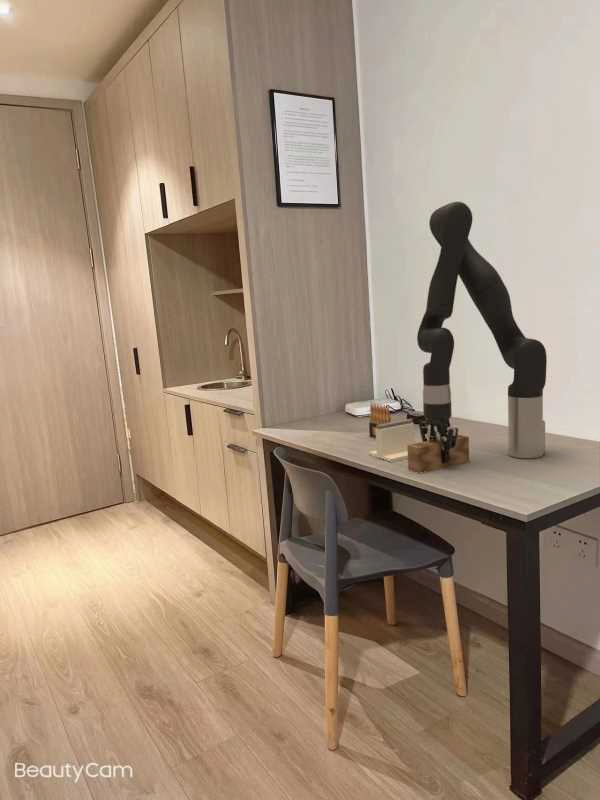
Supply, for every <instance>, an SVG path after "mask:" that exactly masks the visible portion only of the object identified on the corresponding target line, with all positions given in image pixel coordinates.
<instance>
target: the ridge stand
mask: <svg viewBox="0 0 600 800" xmlns="http://www.w3.org/2000/svg"><path fill="white" fill-rule="evenodd" d="M375 432H376V439H375V446H376V447H375V449H376V450H372V451H369V452H368V456H370V455H371V456H370V457H373V456H374V458H376V457H377V459H379V458H381V459H380V460H382V459H384V460H383V461H385V460H387V461H386V462H388V461H390V462H389V463H394V462H393V461H395V462H398V461H397V460H399V461H402V460H401V459H404V460H407V459H406V458H408V448H407V445H411V444H415V423H414V422H413V419H411V418H406V419H401V420H395V421H391V422H390V423H385V424H380V425H376V428H375Z"/></svg>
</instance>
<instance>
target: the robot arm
mask: <svg viewBox="0 0 600 800" xmlns="http://www.w3.org/2000/svg"><path fill="white" fill-rule="evenodd" d="M428 224H429V228H430V233H431V235H432V236H433V238H434V239H435V240H436V242H437V243H438V245H439V246H440V252H439V256H438V259H437V263H436V265H435V268H434V271H433V274H432V277H431V279H430V283H429V287H428V293H427V299H426V306H425V307H426V309H425V312H424V315H422V316H423V317H422V319H421V322H420V325H419V328H418V330H417V337H416V339H417V340H416V341H417V346H418V347H419V349H420V350H421V352H424V353H426V354H427V353H428V354H430V360H429V362H427V363H425V364H424V365H423V367H422V368H423V369H422V371H423V372H422V377H423V379H422V380H423V385H422V386H423V388H422V405H423V406H422V410H423V418H424V419H425V420H424V421H420V422H419V423H418V427H419V431H420V436H421V442H424V441H429V440H434V439H437V440H438V442H439V443H441V462H442V463H448V462H449V460H450V453H449V450H450V449H451V448H455V445H456V440H457V435H459V428H458V427H452V426H451V423H450V419H451V417H452V415H453V414H452V413H453V412H452V389H451V384H450V383H451V382H450V381H451V378H450V374H451V373H450V366H451V363H452V359H453V353H454V349H455V339H454V336H453V333H452V331H451V330H450V329H449V328H446V327H443V324H444V321H445V320H447V319H449V318H451V317H452V314H453V311H454V304H455V297H456V288H457V284H458V277H459V278H460V280H461V282H462V284H463V285H464V287H465V289H466V291H467V293H468V294H469V296H470V299H471V300H472V302H473V304H474V306H475V308H477V310H478V312H479V314H480V316H481V317H482V319H483V320H484V322H485V324H486V325H487V326H488V329H489V330H490V332H491V334H492V336H493V338H494V340H495V343H496V345H497V347H498V350H499V352H500V355H501V357H502V359H503V361H504V362H505V364H506V365H507V366H508V367H509V368H511V369H512V370H513V381H512V383H511V384H509V385H508V387H507V414H508V415H507V424H508V427H507V428H508V430H507V431H508V456H510V457H513V458H517V459H537V458H541V457H542V456H543V455H545V454H546V421H545V420H544V414H543V413H544V406H543V405H544V403H543V402H544V401H543V400H544V395H543V394H544V393H543V392H544V388H545V386H546V381H547V380H546V379H547V361H548V359H547V357H548V356H547V352H546V351H547V350H546V347H545V346H544V344H543V343H542V342H541V341H540V340H537V339H534V338H527V337H526V336H525V335H524V333H523V332H522V330H521V329H520V327H519V325H518V324H517V322H516V320H515V317H514V314H513V309H512V302H511V297H510V294H509V290H508V288H507V287H506V285H505V283H504V281H503V279H502V278H501V275H500V274H499V273H498V271H497V270H496V269H495V267H494V266H493V265H492V264H491V263H490V262H489V261H488V260H487V259H485V258H484V256H482V255H481V254H480V253H479V252H478V251H477V250H476V248H475V247H474V246H473V244H472V243H471V241H470V238H469V235H470V232H471V228H472V225H473V212H472V211H471V208H470V207H469V205H467V204H466V203H464V202H463V201H451V202H450V203H447V204H445V205H442V206H440V207H438V208H437V209H435V210H434V211H433V212H432V213H431V215H430V218H429V223H428ZM443 437H445V438H444V439H442V438H443ZM444 441H445V442H446V445H444ZM451 441H452V442H451Z"/></svg>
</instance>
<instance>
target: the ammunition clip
mask: <svg viewBox="0 0 600 800" xmlns="http://www.w3.org/2000/svg"><path fill="white" fill-rule="evenodd" d="M391 420H392V418H391V413H390V407H389V405H387V406H386V405H385V404H384V405H382V404H380V405H379V403H377V404H376V403H375V402H374V403H373V402H371V403H370V406H369V423H368V425H369V426H368V427H369V438H372V437H374V438H373V439H375V438H376V432H375V428H376V425H380V424H385V423H390V422H392V421H391Z"/></svg>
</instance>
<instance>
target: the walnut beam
mask: <svg viewBox="0 0 600 800" xmlns="http://www.w3.org/2000/svg"><path fill="white" fill-rule="evenodd" d="M441 438H442V439H444V438H445V437H441ZM469 439H470V437H469V436H466V435H463V434H458V435H457V440H456V445H455V448H451V449H450V450H449V453H450V460H449V462H448V463H442V462H441V443H439V442H438V440H437V439H434V440H433V439H432V440H429V441H424V442H422V441H420V442H416V443H415V444H411V445H407V448H408V459H407V468H408V469H409V470H408V471H410V470H411V472H413V471H414V473H416V472H418V473H417V474H421V473H420V472H423V473H425V472H424V471H427V472H430V471H429V470H431V471H434V470H433V469H435V470H438V469H437V468H439V469H442V468H441V467H443V468H447V467H446V466H448V467H451V466H450V465H452V466H455V464H456V465H459V463H460V464H463V463H464V464H465V463H467V462H468V463H469V462H470V440H469ZM451 442H452V441H451ZM444 445H446V442H445V441H444Z"/></svg>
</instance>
